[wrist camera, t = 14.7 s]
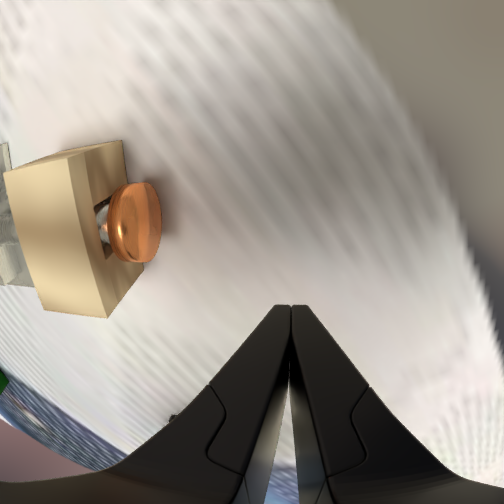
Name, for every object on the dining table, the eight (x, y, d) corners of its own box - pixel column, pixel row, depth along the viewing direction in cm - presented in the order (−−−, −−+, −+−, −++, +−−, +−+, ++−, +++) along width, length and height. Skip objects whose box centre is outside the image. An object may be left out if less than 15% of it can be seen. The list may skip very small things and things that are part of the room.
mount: (143, 270, 21) (107, 318, 16) (85, 268, 21) (44, 309, 16) (121, 139, 17) (67, 158, 12) (59, 151, 17) (2, 172, 13)
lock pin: (166, 242, 19) (138, 277, 15) (11, 244, 21) (-22, 268, 17) (155, 174, 17) (121, 195, 13) (-2, 196, 19) (-39, 215, 15)
